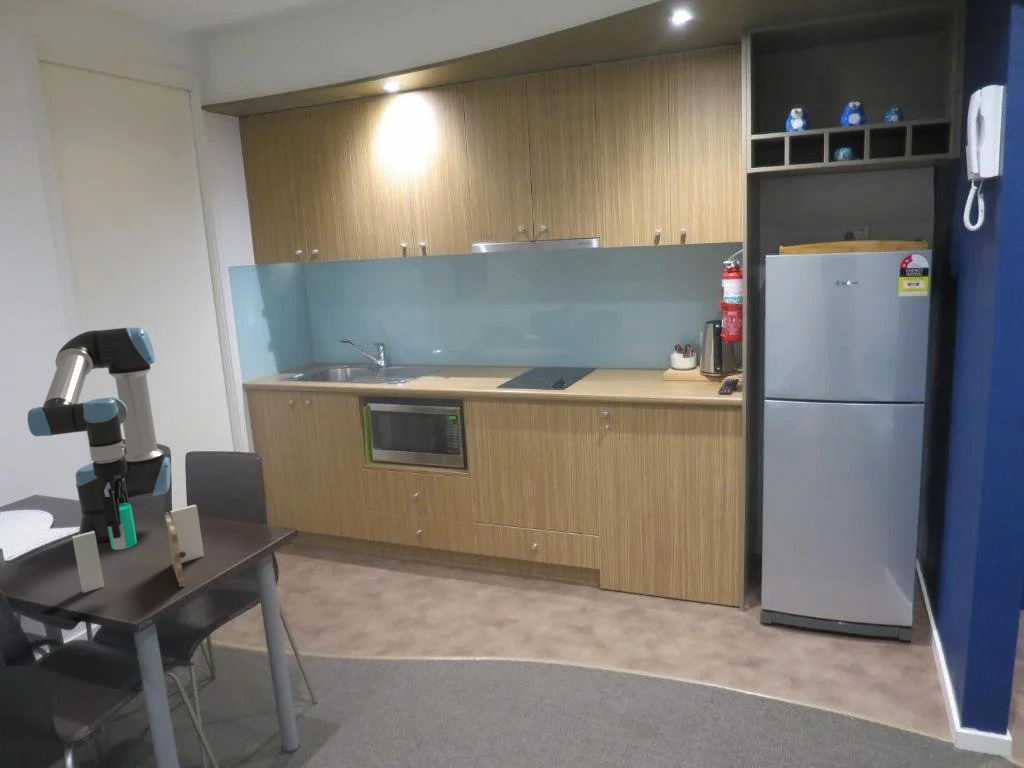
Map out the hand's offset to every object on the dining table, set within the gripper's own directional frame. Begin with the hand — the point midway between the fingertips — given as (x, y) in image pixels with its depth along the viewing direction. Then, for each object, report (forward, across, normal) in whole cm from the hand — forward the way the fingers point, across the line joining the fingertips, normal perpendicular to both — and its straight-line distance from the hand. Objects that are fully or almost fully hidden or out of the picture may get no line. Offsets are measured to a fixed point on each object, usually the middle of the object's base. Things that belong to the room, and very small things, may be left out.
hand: (123, 543), depth 191 cm
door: (+12, +3, -12) cm, 17 cm away
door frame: (+13, +8, -2) cm, 15 cm away
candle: (+1, 0, 0) cm, 1 cm away
